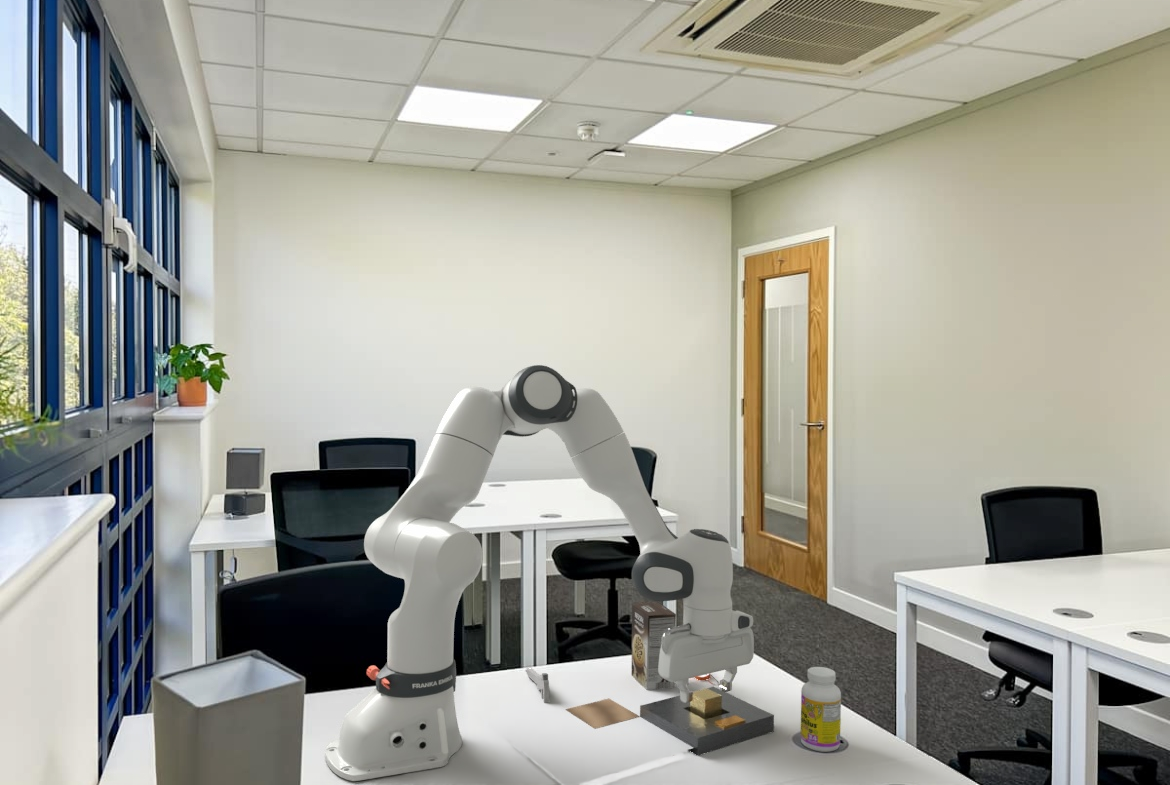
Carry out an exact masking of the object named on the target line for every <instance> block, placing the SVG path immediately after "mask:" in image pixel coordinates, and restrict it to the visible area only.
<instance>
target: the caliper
mask: <svg viewBox="0 0 1170 785" xmlns="http://www.w3.org/2000/svg"><path fill="white" fill-rule="evenodd" d="M529 668H531V669H529ZM525 673H526V675H527V677H528V678H529V679H531V680H532V681H533V682H534V683H535V684H536V686H537V690H539V691H540V696H541V697H540V698H541V699H542V700H543V703H544V704H545V703H547V704H548V703H549V704H550V680H549V674H548V673H547V672H544V673H543V672H542V673H541V674H540V673H538V672H537V671H536V670H534V669H533V667H526V669H525Z"/></svg>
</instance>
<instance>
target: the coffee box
mask: <svg viewBox="0 0 1170 785" xmlns="http://www.w3.org/2000/svg"><path fill="white" fill-rule="evenodd" d="M676 624H677V614H676V613H675V612H674V611H672V610H671V609H669V608H668V607H667V606H665V605H663V604H662V603H661V602H656V601H655V602H638V603H632V604H631V676H632V678H633V679H634V680H635V681H636V682H637V683H638V684H640V686H642V688H644V689H645V690H646V691H651V690H653V691H654V690H662V689H664V690H665V689H670V688H675V682H670V681H668V680H666V679H664V678H662V677H661V676H660V674H659V672H658V665H659V655H660V649H661V644H662V636H663V635H664V633H665V632H666V631H667V630H668V628H670V627H677V626H676ZM667 634H669V633H667Z"/></svg>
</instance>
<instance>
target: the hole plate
mask: <svg viewBox="0 0 1170 785" xmlns="http://www.w3.org/2000/svg"><path fill="white" fill-rule="evenodd" d="M707 689H709V690H711V691H713V692H716V693H718V694H720V695H722V710H721V715H720V716H716V717H713V718H709V719H706V720H704V719H703V718H701V717H699V716H697V715H695V714H693V713H691V712H690V702H687V703H685V702H683V701H681V699H680V694H679V695H676V696H673V697H672V696H671V697H669V698H668V697H667V698H665V699H660V700H658V701H652V702H650V703H649V702H648V703H646V704H641V705H640V706H639V716H640V717H639V718H641V719H643V720H645V721H647V722H648V723H650V724H652V725H654V726H655V727H657V728H658V729H660V730H662V731H663V732H666V733H667V734H668V735H670V736H673V737H674V738H675V739H677V740H680V741H681V742H683V743H685V744H686V745H688V746H690V748H688V749H687V751H689V752H690V751H691V753H692V752H693V753H692V754H693V755H695V754H696V755H695V756H697V755H698V756H700V755H701V754H702V755H705V754H707V752H708V753H710V752H714V751H716V750H717V751H718V750H721V749H723V748H726V747H730V746H732V745H736V744H739V743H743V742H746V741H748V740H752V739H755V738H758V737H762V736H764V735H768V734H770V733H774V732H775V731H774V730H775V714H773V713H770V712H768V711H766V710H764V709H762V708H760V707H757V706H756V705H753V704H751V703H749V702H748V701H745V700H743V699H741V698H740V697H739V698H738V697H736V696H735V695H732V694H730V693H729V692H723V691H721V690H720V688H718V687H715V686H711V687H707ZM691 747H692V748H691ZM720 748H721V749H720ZM704 753H705V754H704ZM702 755H701V756H702Z"/></svg>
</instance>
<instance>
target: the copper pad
mask: <svg viewBox="0 0 1170 785" xmlns="http://www.w3.org/2000/svg"><path fill="white" fill-rule="evenodd" d="M565 711H567V712H568V713H569V714H571V715H573V716H574V717H576V718H577V719H579V720H581V721H582V722H584V723H585V724H586V725H588V726H589V727H591V728H593V729H594V730H595V729H600V728H603V727H607V726H611V725H614V724H618V723H622V722H625V721H629V720H634V719H637V718H641V717H640V715H638V714H636V713H635V712H633V711H631V710H630V709H628V708H627V707H625V706H623V705H621V704H619V702H618V703H617V702H616V701H614V700H612V699H610V698H606V699H605V698H604V699H601V700H598V701H597V700H596V701H594V702H589V703H584V704H582V705H577V706H573V707H570V708H569V707H568V708H566V709H565Z"/></svg>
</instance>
